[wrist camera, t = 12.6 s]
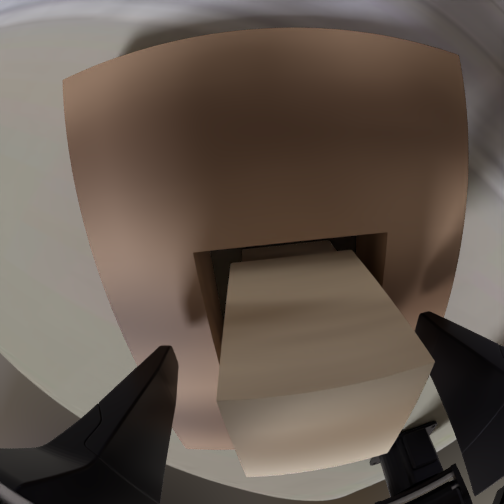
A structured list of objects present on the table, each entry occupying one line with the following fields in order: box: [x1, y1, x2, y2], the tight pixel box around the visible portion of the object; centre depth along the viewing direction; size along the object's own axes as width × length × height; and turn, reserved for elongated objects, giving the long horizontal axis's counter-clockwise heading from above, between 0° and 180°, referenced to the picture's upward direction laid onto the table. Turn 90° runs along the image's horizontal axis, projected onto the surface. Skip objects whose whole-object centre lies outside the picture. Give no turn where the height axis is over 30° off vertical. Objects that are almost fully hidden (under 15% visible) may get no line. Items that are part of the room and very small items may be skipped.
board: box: [63, 28, 468, 450], centre depth 11 cm, size 20×14×3 cm
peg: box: [216, 240, 435, 477], centre depth 9 cm, size 4×4×8 cm
